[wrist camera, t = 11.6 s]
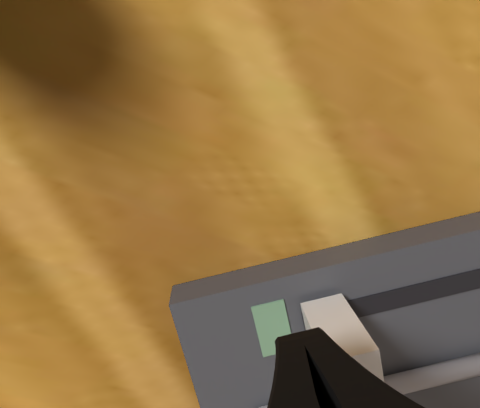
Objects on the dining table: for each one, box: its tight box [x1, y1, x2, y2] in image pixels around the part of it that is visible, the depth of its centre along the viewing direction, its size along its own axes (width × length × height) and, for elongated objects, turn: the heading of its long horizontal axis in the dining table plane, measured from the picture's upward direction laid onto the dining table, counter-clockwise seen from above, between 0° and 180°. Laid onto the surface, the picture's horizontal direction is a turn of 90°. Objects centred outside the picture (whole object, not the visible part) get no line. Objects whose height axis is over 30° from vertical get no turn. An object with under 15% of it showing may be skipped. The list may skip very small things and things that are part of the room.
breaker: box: [300, 293, 384, 382], centre depth 17 cm, size 2×2×4 cm
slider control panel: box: [169, 212, 480, 408], centre depth 21 cm, size 20×14×3 cm
